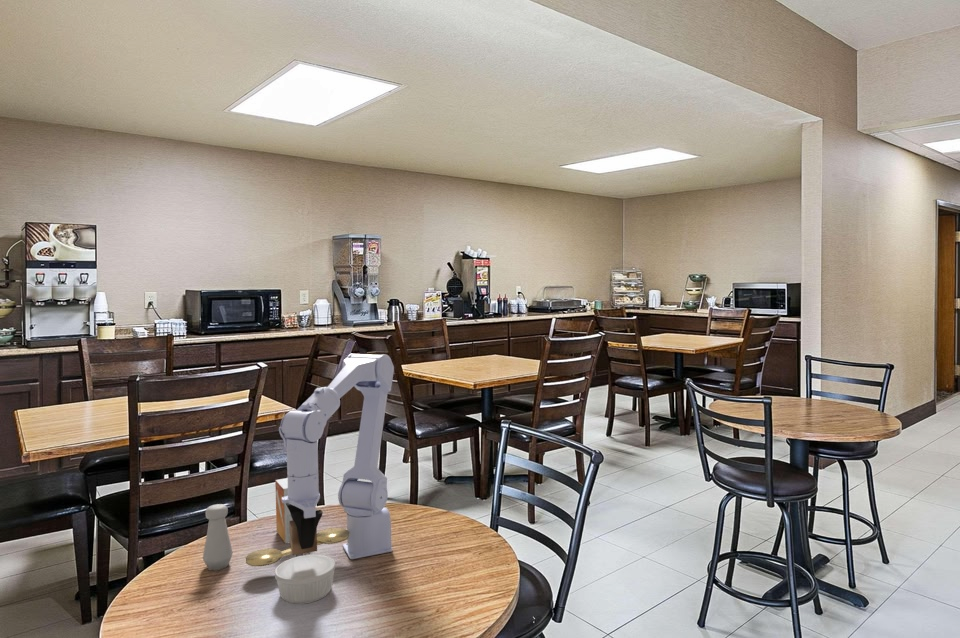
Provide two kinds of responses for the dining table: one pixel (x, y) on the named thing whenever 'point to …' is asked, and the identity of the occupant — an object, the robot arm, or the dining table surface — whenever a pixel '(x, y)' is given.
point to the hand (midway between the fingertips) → (304, 542)
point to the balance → (275, 555)
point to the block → (295, 541)
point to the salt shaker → (217, 539)
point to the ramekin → (305, 578)
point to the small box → (282, 510)
